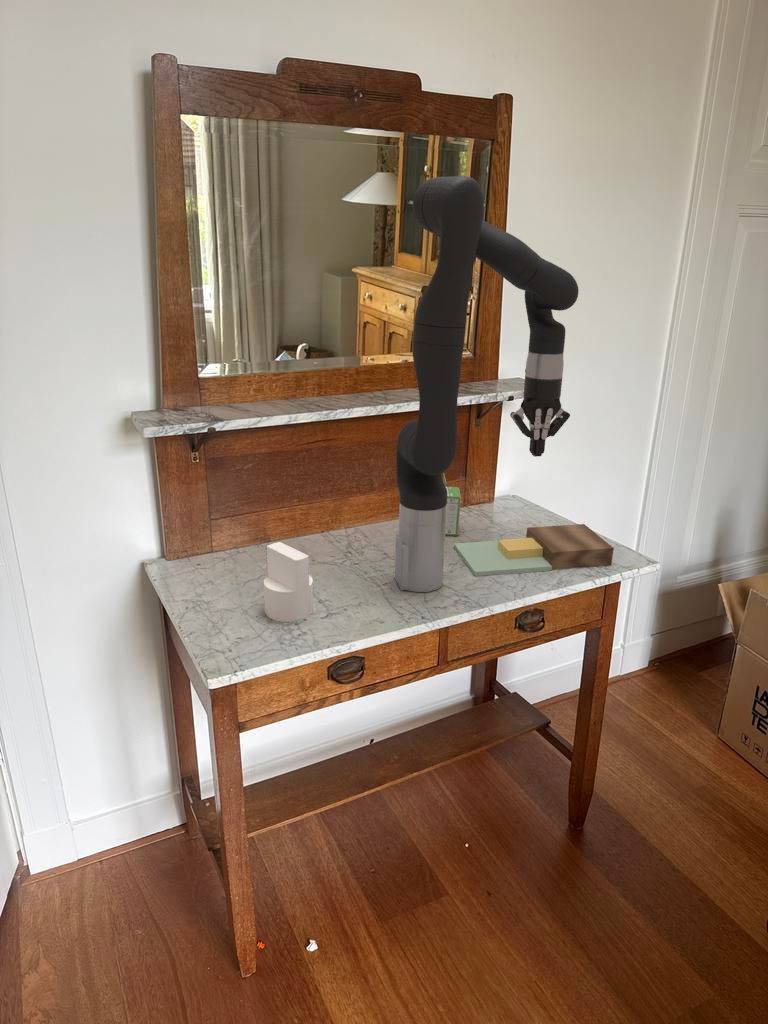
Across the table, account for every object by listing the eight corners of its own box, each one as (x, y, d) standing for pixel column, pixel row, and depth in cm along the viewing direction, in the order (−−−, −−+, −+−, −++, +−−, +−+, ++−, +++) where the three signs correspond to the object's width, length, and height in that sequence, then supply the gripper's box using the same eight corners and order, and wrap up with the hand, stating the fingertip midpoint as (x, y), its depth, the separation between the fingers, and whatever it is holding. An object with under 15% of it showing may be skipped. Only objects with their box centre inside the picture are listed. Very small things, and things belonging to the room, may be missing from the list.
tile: (507, 559, 162) (508, 550, 161) (497, 548, 167) (498, 539, 166) (542, 556, 163) (543, 548, 163) (531, 545, 169) (532, 537, 168)
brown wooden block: (550, 569, 160) (552, 552, 158) (525, 543, 173) (527, 527, 171) (611, 565, 163) (613, 548, 161) (582, 539, 175) (584, 524, 174)
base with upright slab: (255, 609, 141) (252, 550, 136) (293, 594, 147) (291, 537, 142) (284, 626, 135) (282, 565, 131) (323, 610, 141) (322, 551, 136)
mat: (474, 576, 156) (475, 571, 156) (453, 547, 170) (453, 543, 169) (551, 570, 159) (552, 566, 159) (524, 542, 173) (525, 538, 173)
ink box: (458, 536, 176) (462, 481, 171) (441, 536, 176) (444, 481, 171) (456, 525, 182) (460, 472, 178) (440, 524, 182) (443, 472, 178)
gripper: (519, 378, 150) (513, 462, 156) (581, 377, 152) (572, 459, 158) (506, 371, 157) (501, 451, 163) (566, 370, 159) (558, 449, 165)
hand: (536, 455), depth 161 cm, fingers closed
